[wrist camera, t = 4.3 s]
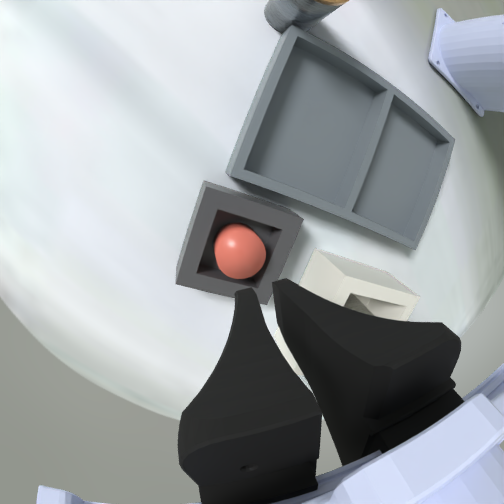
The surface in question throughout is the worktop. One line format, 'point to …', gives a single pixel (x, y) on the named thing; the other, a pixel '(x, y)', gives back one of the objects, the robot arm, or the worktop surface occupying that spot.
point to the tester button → (238, 250)
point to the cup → (352, 290)
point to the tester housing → (225, 212)
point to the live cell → (299, 12)
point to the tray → (342, 140)
